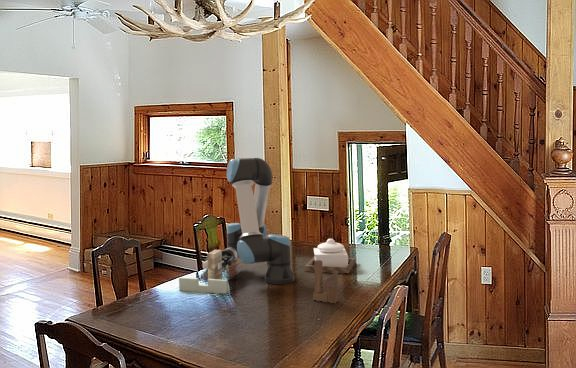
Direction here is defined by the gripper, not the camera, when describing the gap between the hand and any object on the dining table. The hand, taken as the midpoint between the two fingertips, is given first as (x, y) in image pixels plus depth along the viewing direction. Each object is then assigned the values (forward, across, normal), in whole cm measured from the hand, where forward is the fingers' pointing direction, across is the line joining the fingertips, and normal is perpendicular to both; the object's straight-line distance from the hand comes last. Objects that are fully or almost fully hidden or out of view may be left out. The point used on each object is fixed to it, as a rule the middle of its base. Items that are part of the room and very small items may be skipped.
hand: (211, 265), depth 288 cm
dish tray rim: (-50, -50, -10) cm, 71 cm away
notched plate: (-5, 0, -10) cm, 11 cm away
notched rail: (+10, 0, -10) cm, 14 cm away
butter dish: (-50, -50, -10) cm, 71 cm away
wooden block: (+13, -60, -10) cm, 62 cm away
